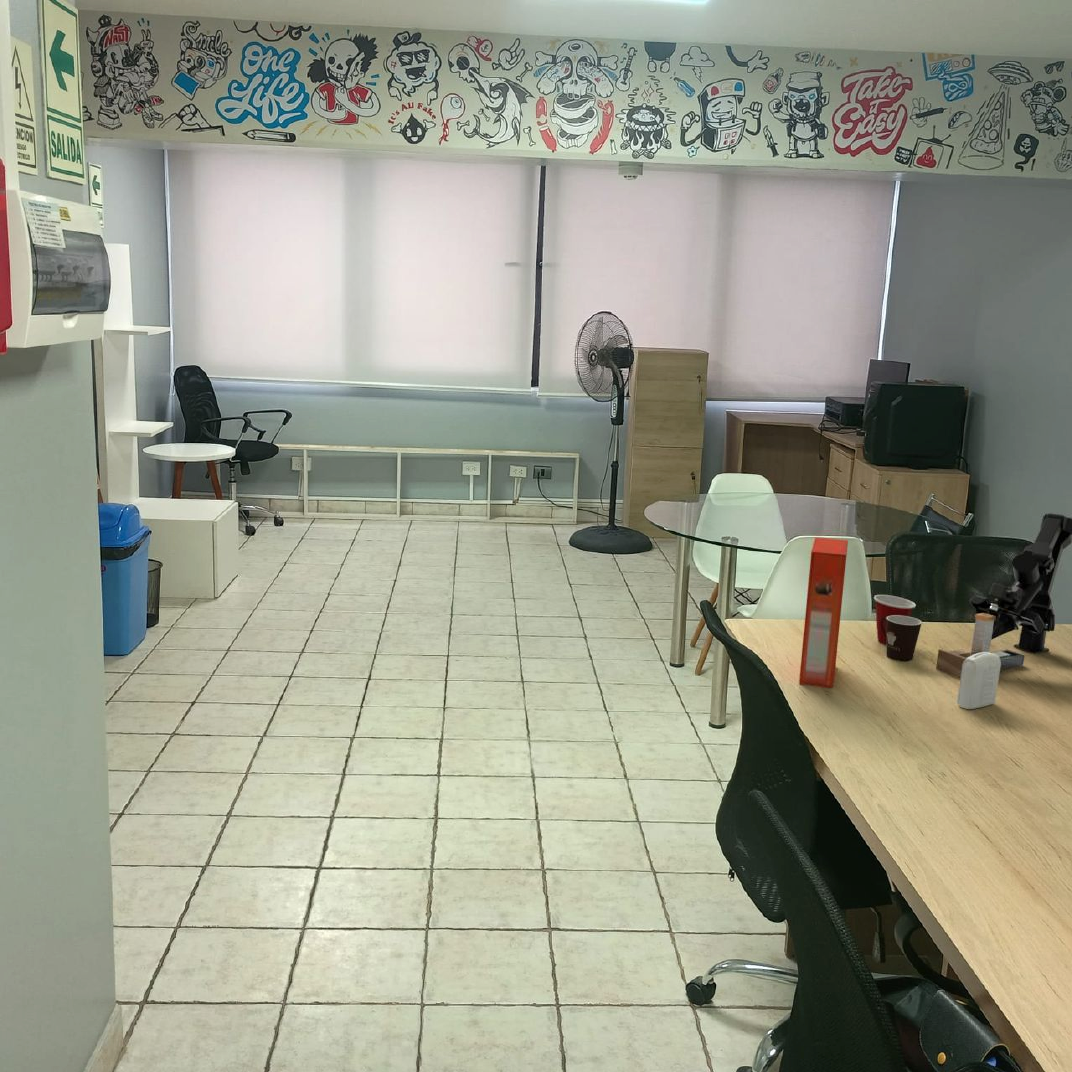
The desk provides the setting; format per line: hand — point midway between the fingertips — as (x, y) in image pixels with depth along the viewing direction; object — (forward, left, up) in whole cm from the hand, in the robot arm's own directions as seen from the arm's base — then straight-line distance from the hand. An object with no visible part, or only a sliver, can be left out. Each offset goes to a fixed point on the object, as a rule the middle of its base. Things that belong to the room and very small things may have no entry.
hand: (987, 639), depth 273 cm
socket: (+7, 0, -8) cm, 11 cm away
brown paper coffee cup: (+13, -16, -8) cm, 22 cm away
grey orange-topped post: (-1, 0, -7) cm, 7 cm away
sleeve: (-6, 0, -8) cm, 10 cm away
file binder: (+44, -13, -8) cm, 46 cm away
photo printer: (+24, +17, -8) cm, 30 cm away
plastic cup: (+6, -25, -8) cm, 27 cm away
